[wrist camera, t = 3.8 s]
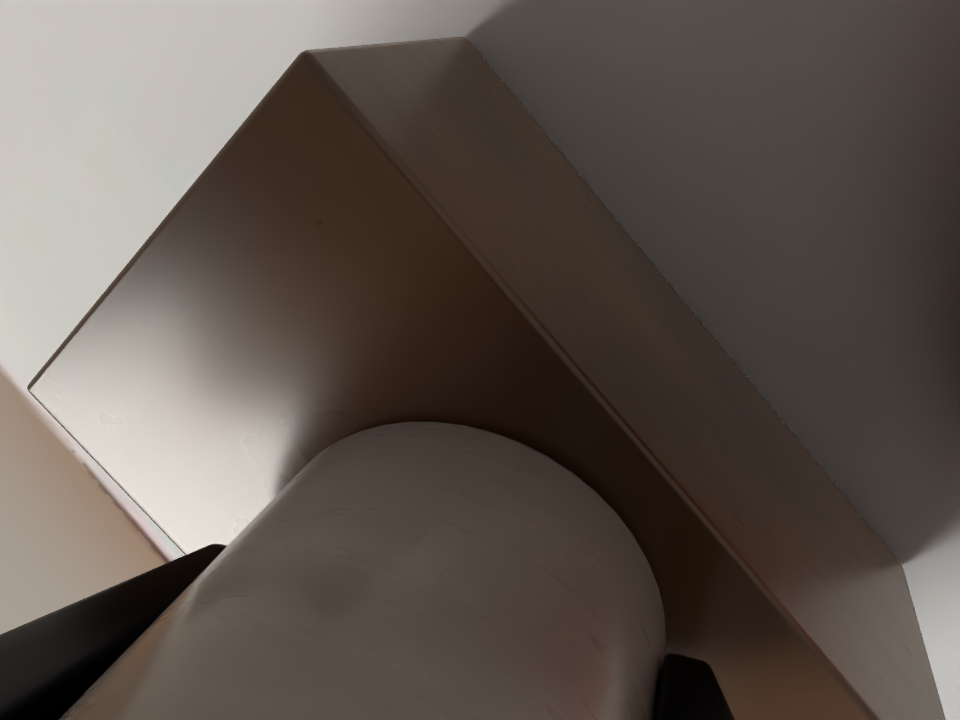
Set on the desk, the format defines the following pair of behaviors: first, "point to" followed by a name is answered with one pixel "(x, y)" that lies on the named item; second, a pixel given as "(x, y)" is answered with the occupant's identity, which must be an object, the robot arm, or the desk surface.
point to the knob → (408, 597)
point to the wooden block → (475, 367)
